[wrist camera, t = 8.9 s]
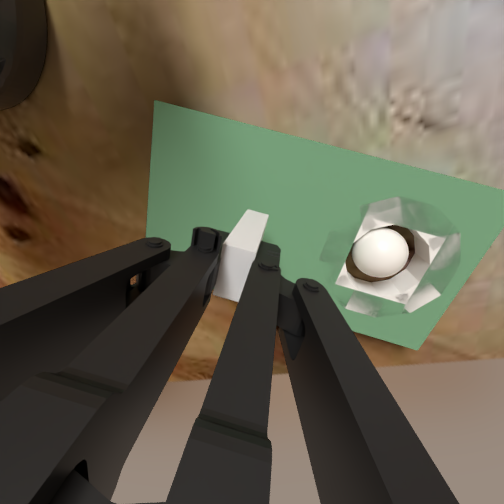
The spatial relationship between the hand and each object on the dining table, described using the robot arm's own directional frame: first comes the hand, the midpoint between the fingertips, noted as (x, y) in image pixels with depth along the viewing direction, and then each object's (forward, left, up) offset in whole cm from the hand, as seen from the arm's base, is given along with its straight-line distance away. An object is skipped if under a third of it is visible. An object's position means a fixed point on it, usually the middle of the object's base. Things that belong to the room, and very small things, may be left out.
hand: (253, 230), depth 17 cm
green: (+4, -1, -5) cm, 6 cm away
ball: (+10, 0, -3) cm, 10 cm away
